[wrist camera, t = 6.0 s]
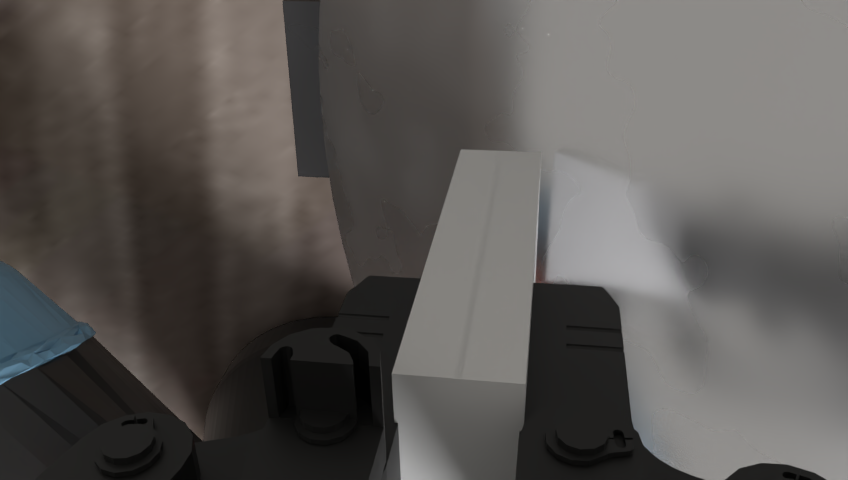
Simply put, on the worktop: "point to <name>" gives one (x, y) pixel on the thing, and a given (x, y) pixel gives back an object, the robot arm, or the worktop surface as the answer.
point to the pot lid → (631, 189)
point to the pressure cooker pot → (305, 85)
